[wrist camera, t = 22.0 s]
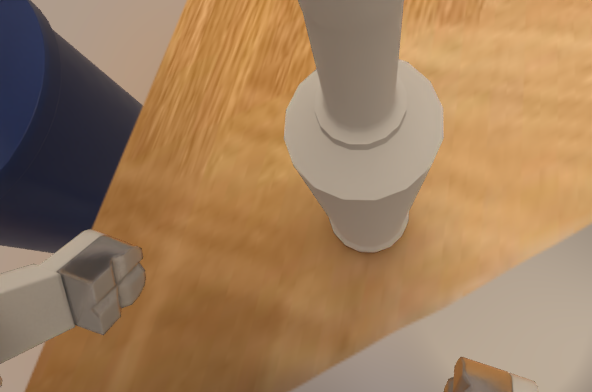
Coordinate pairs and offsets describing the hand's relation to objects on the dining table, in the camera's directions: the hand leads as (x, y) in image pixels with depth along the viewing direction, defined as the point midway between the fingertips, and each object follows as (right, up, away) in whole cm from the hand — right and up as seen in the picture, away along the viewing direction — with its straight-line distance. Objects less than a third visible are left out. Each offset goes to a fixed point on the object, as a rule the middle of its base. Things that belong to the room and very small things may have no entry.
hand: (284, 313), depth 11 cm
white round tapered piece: (+5, +1, +19) cm, 20 cm away
